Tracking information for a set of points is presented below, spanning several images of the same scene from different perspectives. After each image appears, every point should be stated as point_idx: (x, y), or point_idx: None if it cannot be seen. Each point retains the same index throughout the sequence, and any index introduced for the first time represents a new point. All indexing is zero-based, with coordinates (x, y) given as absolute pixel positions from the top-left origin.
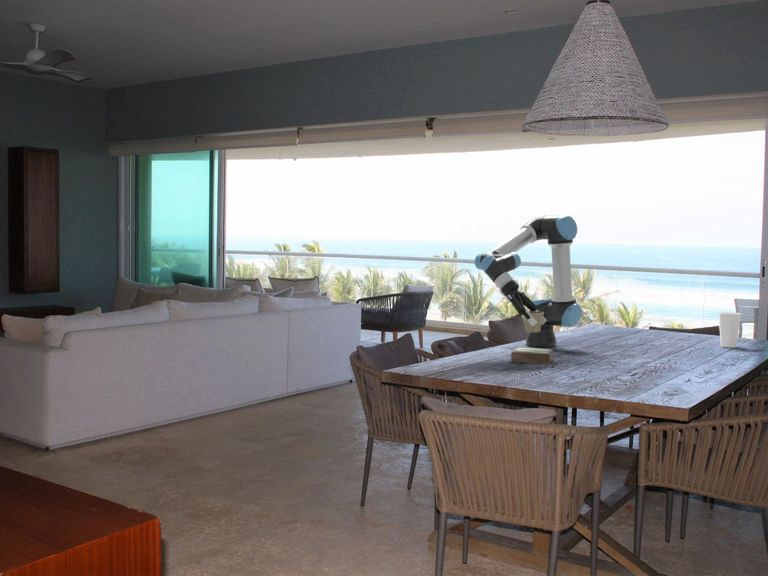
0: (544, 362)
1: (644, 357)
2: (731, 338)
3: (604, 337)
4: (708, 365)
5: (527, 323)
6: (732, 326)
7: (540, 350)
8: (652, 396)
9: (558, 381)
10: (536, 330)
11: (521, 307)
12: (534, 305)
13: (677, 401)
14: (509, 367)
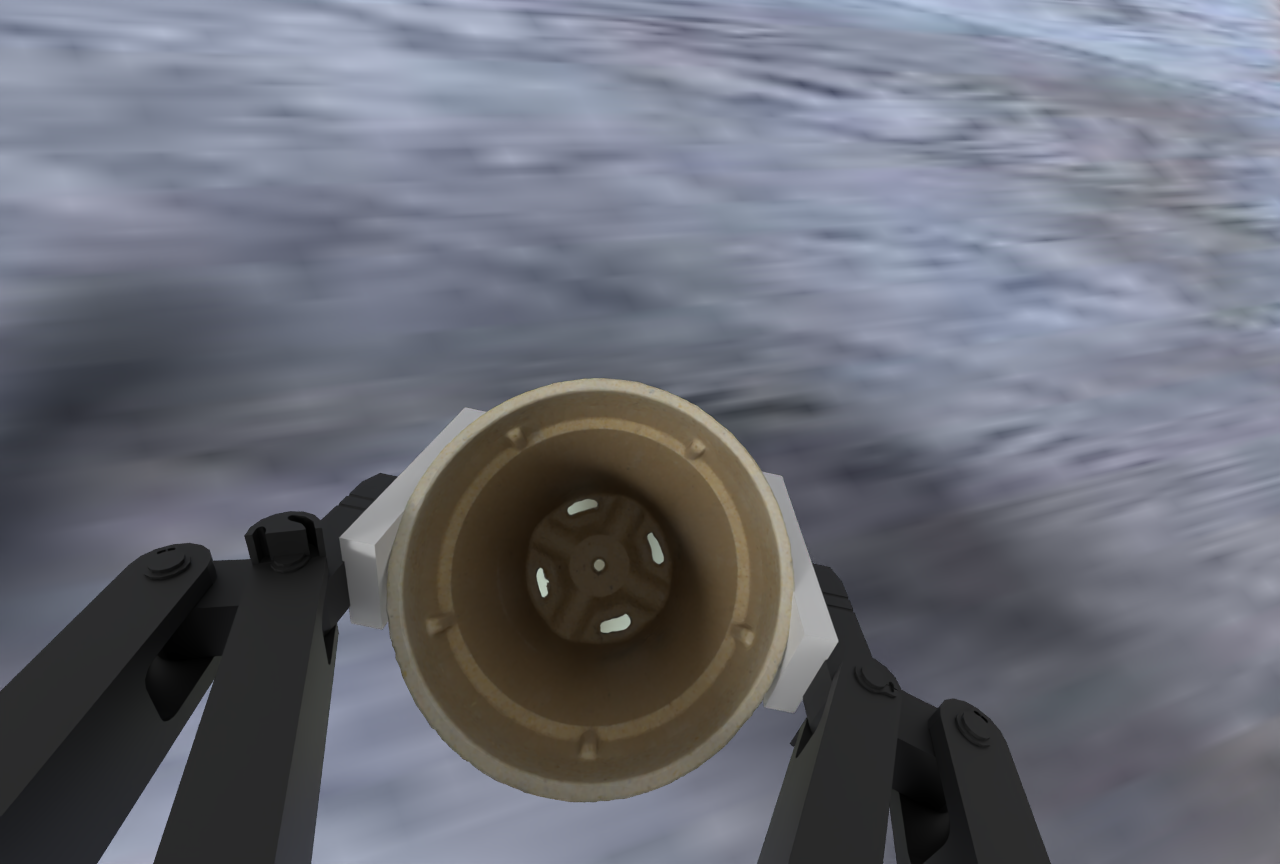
0: None
1: (213, 35)
2: None
3: None
4: None
5: (693, 619)
6: None
7: (582, 506)
8: (1195, 52)
9: (1166, 323)
10: (660, 511)
11: (989, 773)
12: (162, 630)
13: (1214, 4)
14: (951, 626)
